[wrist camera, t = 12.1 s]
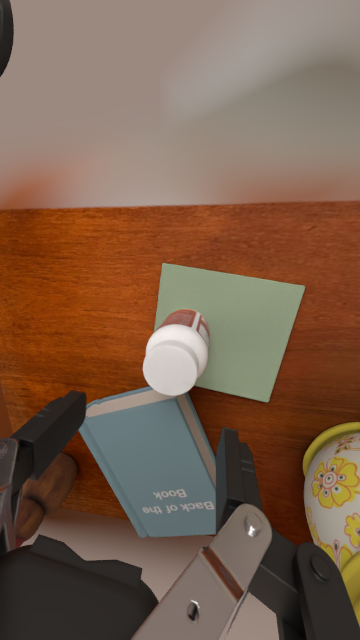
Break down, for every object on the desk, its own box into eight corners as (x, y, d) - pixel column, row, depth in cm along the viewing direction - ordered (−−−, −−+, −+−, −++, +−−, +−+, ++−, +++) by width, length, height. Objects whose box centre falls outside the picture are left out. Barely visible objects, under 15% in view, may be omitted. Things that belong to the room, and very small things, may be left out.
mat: (163, 262, 27) (162, 262, 26) (303, 285, 25) (305, 286, 24) (149, 373, 32) (148, 375, 31) (267, 400, 30) (268, 403, 29)
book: (231, 495, 35) (233, 533, 30) (145, 504, 39) (135, 538, 34) (181, 378, 30) (175, 400, 26) (89, 401, 34) (69, 424, 30)
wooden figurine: (45, 454, 40) (-50, 561, 26) (64, 441, 38) (-27, 549, 24) (69, 479, 41) (-10, 597, 27) (89, 468, 39) (15, 587, 25)
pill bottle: (155, 336, 29) (121, 379, 19) (177, 298, 27) (153, 322, 17) (194, 360, 29) (182, 416, 19) (219, 323, 27) (221, 363, 17)
